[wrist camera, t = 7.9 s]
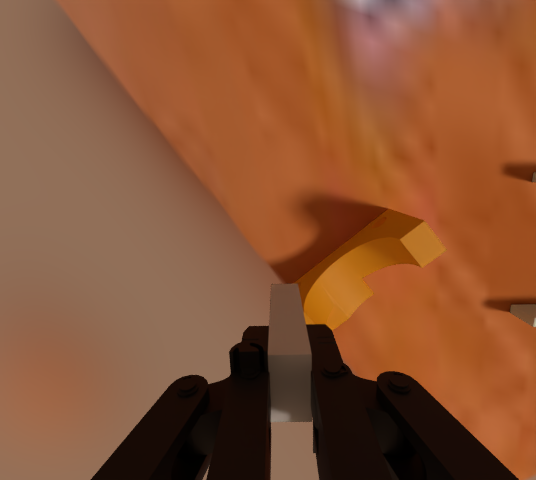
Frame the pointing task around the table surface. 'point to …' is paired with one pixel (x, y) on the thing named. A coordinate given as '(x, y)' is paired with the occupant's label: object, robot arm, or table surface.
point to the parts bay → (525, 312)
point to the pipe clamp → (364, 265)
